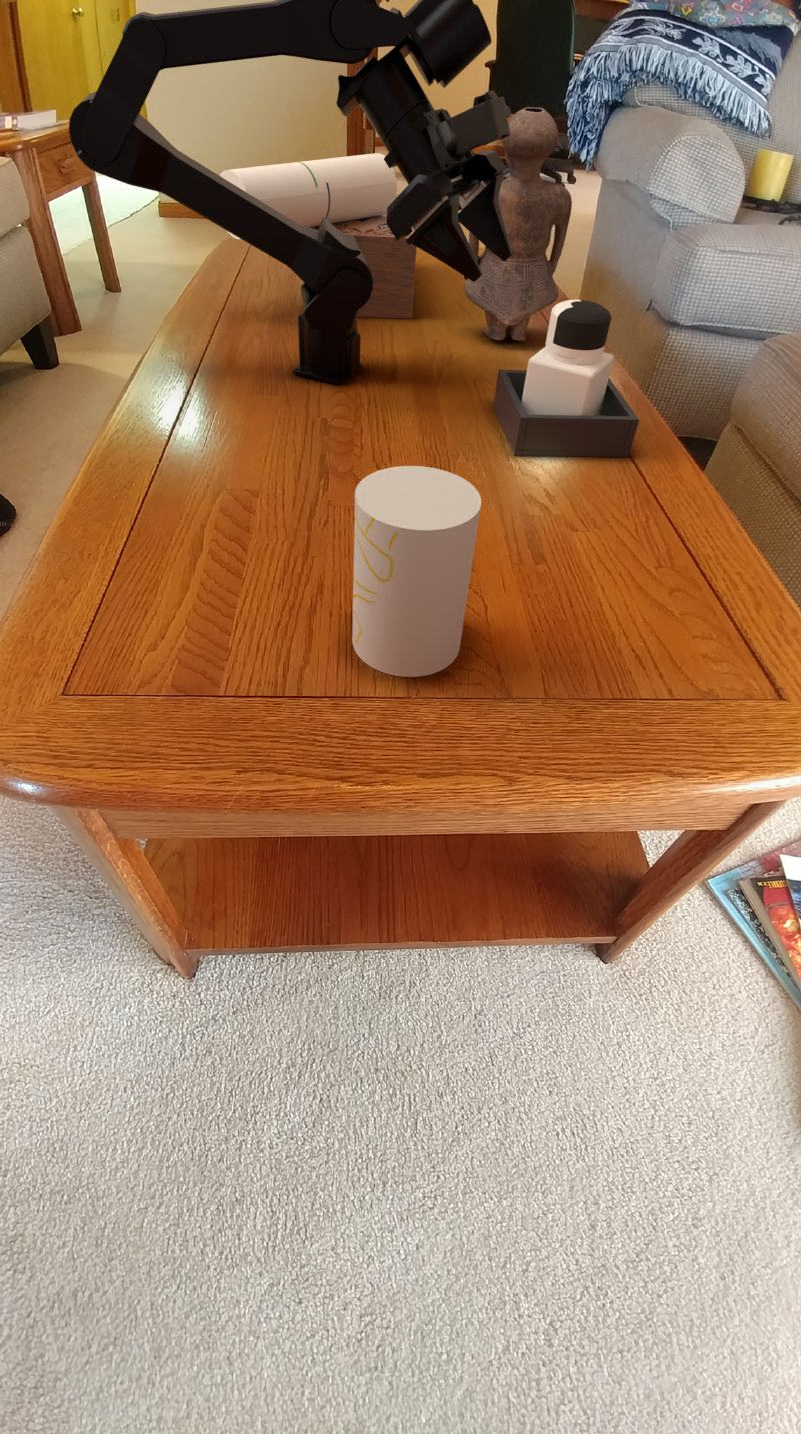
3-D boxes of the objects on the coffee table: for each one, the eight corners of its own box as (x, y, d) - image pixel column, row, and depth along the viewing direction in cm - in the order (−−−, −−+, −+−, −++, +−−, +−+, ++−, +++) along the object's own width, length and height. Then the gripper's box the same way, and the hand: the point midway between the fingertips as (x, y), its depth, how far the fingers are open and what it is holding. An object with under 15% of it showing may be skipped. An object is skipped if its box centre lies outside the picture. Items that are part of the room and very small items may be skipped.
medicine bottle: (598, 419, 85) (628, 304, 77) (577, 442, 81) (605, 322, 72) (540, 403, 87) (562, 289, 79) (516, 425, 83) (537, 306, 74)
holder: (514, 455, 79) (520, 417, 76) (493, 405, 88) (498, 369, 85) (628, 457, 81) (639, 419, 78) (596, 407, 90) (605, 372, 87)
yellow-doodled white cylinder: (350, 607, 59) (352, 464, 51) (452, 607, 60) (471, 466, 52) (354, 677, 54) (357, 529, 45) (467, 676, 54) (491, 530, 46)
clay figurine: (540, 326, 109) (579, 105, 91) (558, 351, 102) (604, 117, 84) (452, 324, 107) (475, 98, 89) (464, 349, 100) (491, 111, 83)
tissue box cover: (412, 318, 108) (417, 238, 101) (310, 314, 107) (308, 232, 99) (402, 266, 126) (405, 194, 119) (315, 261, 125) (313, 189, 117)
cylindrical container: (256, 236, 93) (400, 212, 106) (241, 165, 89) (392, 149, 102) (225, 241, 97) (366, 217, 110) (209, 174, 93) (358, 157, 106)
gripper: (425, 59, 64) (525, 233, 68) (500, 49, 76) (581, 197, 81) (343, 160, 71) (438, 310, 76) (423, 136, 83) (501, 267, 88)
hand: (493, 268), depth 80 cm, fingers open, 9 cm apart
